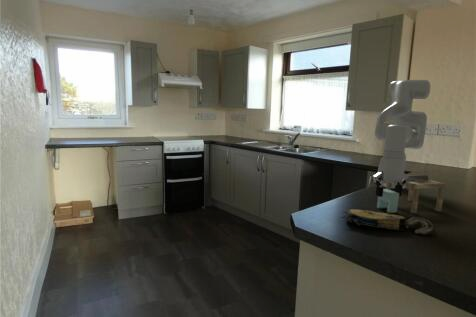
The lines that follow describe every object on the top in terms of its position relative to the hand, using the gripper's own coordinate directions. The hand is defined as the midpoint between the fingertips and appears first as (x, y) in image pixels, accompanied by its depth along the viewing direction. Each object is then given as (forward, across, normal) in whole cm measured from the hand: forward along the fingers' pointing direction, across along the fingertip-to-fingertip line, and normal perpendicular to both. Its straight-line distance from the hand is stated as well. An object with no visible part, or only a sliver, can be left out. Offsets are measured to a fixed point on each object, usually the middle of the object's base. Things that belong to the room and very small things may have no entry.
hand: (388, 195), depth 125 cm
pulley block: (+7, +16, +16) cm, 23 cm away
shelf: (+6, -16, -2) cm, 17 cm away
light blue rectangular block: (+6, 0, 0) cm, 6 cm away
